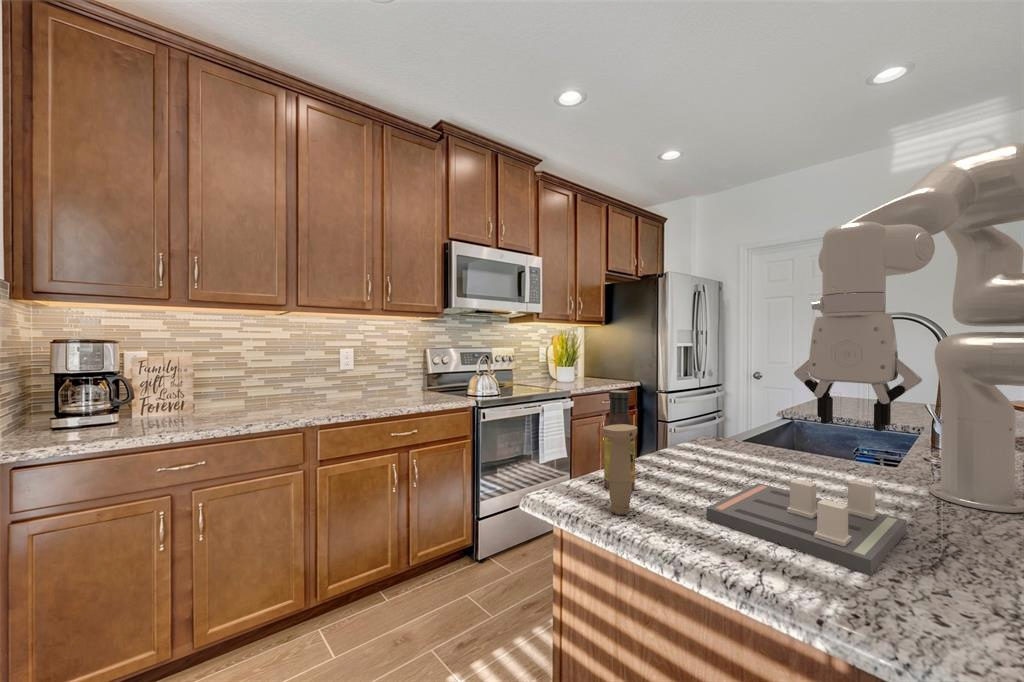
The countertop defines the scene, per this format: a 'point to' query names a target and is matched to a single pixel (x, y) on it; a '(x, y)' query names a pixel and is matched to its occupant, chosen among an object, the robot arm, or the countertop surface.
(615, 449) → the handle
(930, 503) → the countertop surface
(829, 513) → the block
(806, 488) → the block
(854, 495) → the block
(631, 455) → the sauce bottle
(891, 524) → the board
